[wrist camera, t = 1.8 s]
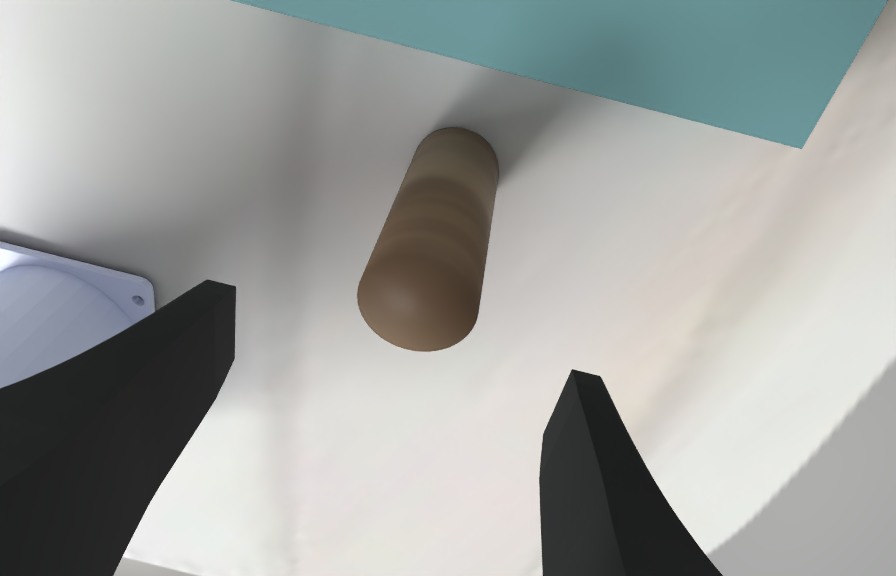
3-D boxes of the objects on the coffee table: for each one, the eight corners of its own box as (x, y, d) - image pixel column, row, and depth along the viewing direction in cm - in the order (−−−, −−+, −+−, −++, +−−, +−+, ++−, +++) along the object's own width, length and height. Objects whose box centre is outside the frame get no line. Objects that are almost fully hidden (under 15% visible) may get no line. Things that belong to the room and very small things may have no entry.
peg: (486, 216, 23) (463, 363, 17) (405, 196, 23) (350, 335, 16) (508, 140, 21) (492, 269, 15) (421, 117, 21) (366, 237, 15)
